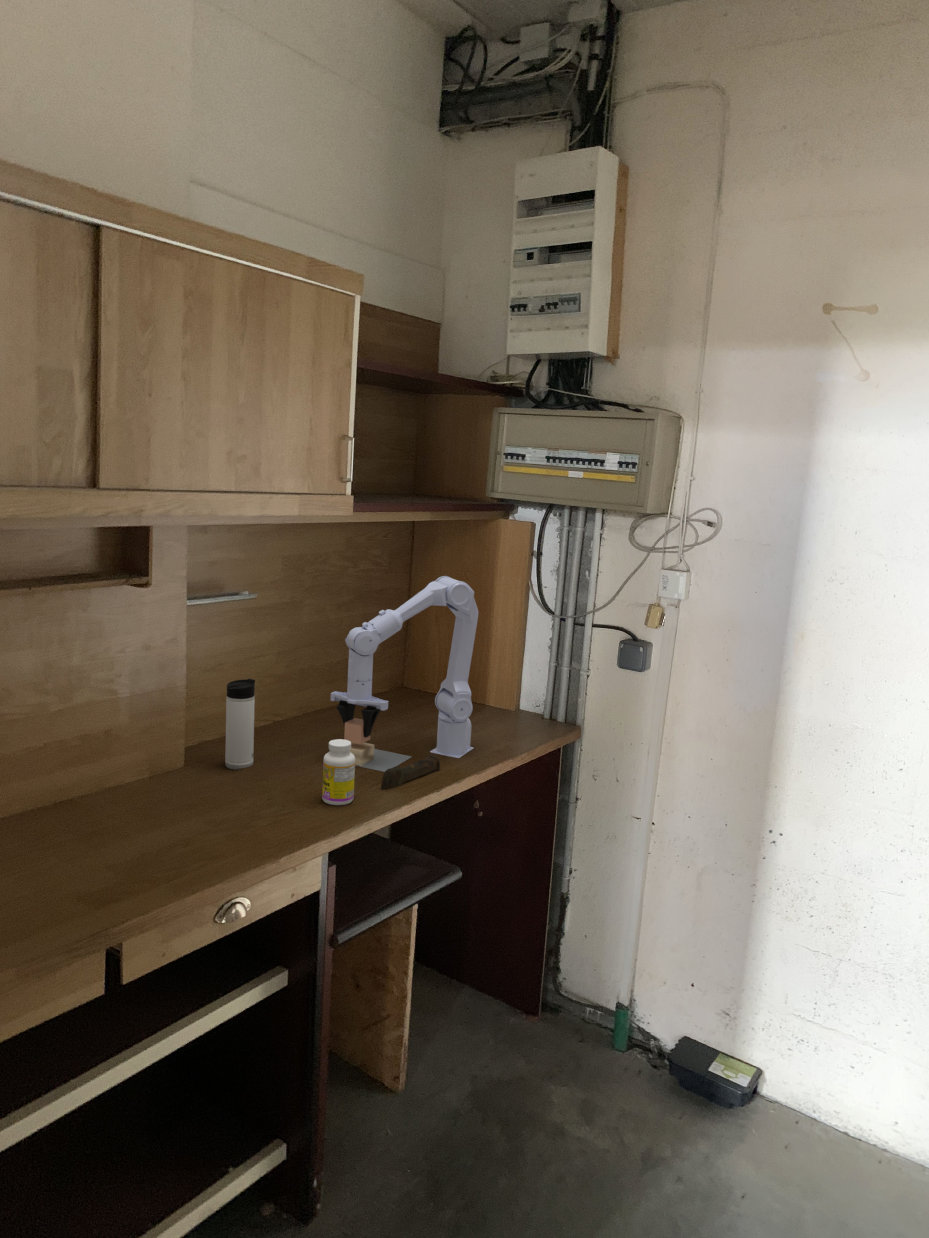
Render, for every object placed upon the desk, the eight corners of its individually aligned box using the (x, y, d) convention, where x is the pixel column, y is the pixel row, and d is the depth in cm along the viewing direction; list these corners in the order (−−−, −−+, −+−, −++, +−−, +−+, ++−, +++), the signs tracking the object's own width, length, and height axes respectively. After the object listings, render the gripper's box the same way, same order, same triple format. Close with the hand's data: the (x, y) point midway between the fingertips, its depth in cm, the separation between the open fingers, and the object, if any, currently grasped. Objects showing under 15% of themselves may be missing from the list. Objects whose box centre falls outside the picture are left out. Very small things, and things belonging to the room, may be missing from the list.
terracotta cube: (354, 735, 219) (354, 718, 219) (370, 739, 218) (371, 721, 217) (344, 740, 215) (344, 722, 215) (360, 744, 214) (361, 726, 213)
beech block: (352, 753, 221) (352, 740, 221) (373, 758, 219) (374, 744, 219) (339, 760, 216) (339, 746, 215) (361, 765, 214) (361, 751, 213)
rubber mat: (362, 748, 228) (362, 746, 228) (412, 758, 222) (412, 756, 222) (334, 762, 216) (334, 760, 216) (386, 774, 211) (386, 772, 211)
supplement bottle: (320, 795, 196) (322, 737, 193) (351, 793, 197) (353, 737, 195) (323, 807, 189) (325, 747, 187) (355, 805, 191) (358, 747, 189)
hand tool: (427, 769, 217) (428, 750, 216) (440, 773, 214) (441, 754, 213) (372, 789, 202) (373, 769, 201) (385, 794, 199) (386, 774, 198)
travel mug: (260, 765, 211) (261, 681, 208) (236, 772, 206) (237, 686, 202) (243, 758, 215) (244, 676, 211) (219, 764, 210) (220, 680, 206)
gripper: (324, 677, 213) (322, 733, 216) (378, 687, 208) (376, 744, 210) (340, 671, 220) (338, 725, 222) (393, 680, 214) (390, 736, 216)
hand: (357, 734), depth 216 cm, fingers closed on terracotta cube, 4 cm apart
